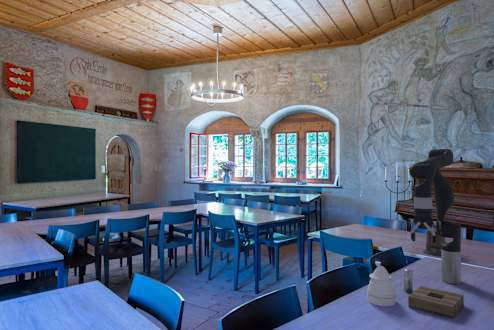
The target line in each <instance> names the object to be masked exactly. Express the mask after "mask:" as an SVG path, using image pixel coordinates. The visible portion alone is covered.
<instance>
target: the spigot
mask: <svg viewBox="0 0 494 330" xmlns="http://www.w3.org/2000/svg"><path fill="white" fill-rule="evenodd" d="M413 281H414V280H413V269H411V268H404V269H403V291H404V293H407V294H412V293H413V292H414V289H413V288H414V287H413Z"/></svg>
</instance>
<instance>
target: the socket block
mask: <svg viewBox="0 0 494 330" xmlns="http://www.w3.org/2000/svg"><path fill="white" fill-rule="evenodd" d="M407 297H408V299H407V301H408V308H411V309H415V310H419V311H422V312H426V313H429V314H430V313H431V314H433V315H437V316H441V317H445V318H448V319H453V320H454V319H455V317H457V315H458V313H459V312H460V311H461V310H462V309H463V307H465V306H464V305H465V303H464V301H465V297H464V294H461V293H457V292H451V291H447V290H443V289H439V288H433V287H430V286H424V285H421V286H419V287H418V288H416V289H415V290H413V292H412V293H409V295H407Z"/></svg>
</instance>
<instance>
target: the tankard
mask: <svg viewBox="0 0 494 330" xmlns="http://www.w3.org/2000/svg"><path fill="white" fill-rule="evenodd" d="M432 227H433V228H434V230H435V231H436V232H437V227H436V226H435V224H433V225H432ZM425 234H426V237H425V238H426V239H425V240H426V241H425V249H424V250H423V251H422V253H423V254H424V255H427V256H432V257H442V255H441V245H442V244H444V243H448V242H447V241H446V237H441V236H440V235H437V242H436V243H435V244H433V243H432V236H433V234H432V233H431V232H430V231H429V230H428V229H427V230H426V231H425Z"/></svg>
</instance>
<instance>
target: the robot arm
mask: <svg viewBox="0 0 494 330" xmlns="http://www.w3.org/2000/svg"><path fill="white" fill-rule="evenodd" d="M427 155H428V156H427V158H426V159H425V160H423V161H417V162H415V163H413V164H411V166H410V167H409V171H408V173H409V175H410V177H411V178H412V179H415V180H425V181H424V182H423V183H418V184H415V185H414V189H413V191H414V197H413V198H414V199H413V200H414V201H413V218H411V217H409V218H407V219H406V231H407V232H408V233H410V239H411V240H412V242H416V238H417V237H416V231H417V230H418V229H419V230H427V229H428V230H429V231H430V232H431V233H432V234H433V236H432V243H433V244H435V243H436V242H437V235H440V236H441V237H445V238H448V239H452V240H451V241H450V242H447V243H444V244H442V245H441V255H442V256H441V281H442V282H445V283H448V284H453V285H459V284H462V254H461V253H462V252H461V251H462V249H461V247H462V242H461V241H462V225H461V223H460V222H459V221H455V220H454V221H452V220H446V219H445V217H446V214H447V213H448V210H450V208H451V206H452V205H453V204H454V202H455V196H454V195H455V194H454V189H453V186H452V184H451V183H450V182H449V181H448V180H447V179H446V178H445V177H444V175H443V173H442V172H441V171H440V169H443V168H445V167H449V166H451V165H452V164H453V162H454V152H453V151H452V149H450V148H435V149H433V148H431V149H430V150H429V151H428V154H427ZM432 188H433V196H432ZM432 197H434V202H435V203H434V204H435V208H436V220H434V219H433V214H434V213H433V200H432ZM413 223H414V224H415V225H414V226H413V228H412V224H413ZM432 225H435V226H436V227H437V232H436V231H435V230H434V228H433V227H432Z"/></svg>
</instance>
